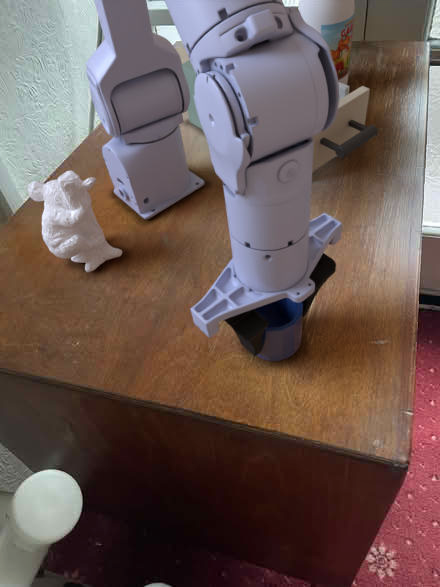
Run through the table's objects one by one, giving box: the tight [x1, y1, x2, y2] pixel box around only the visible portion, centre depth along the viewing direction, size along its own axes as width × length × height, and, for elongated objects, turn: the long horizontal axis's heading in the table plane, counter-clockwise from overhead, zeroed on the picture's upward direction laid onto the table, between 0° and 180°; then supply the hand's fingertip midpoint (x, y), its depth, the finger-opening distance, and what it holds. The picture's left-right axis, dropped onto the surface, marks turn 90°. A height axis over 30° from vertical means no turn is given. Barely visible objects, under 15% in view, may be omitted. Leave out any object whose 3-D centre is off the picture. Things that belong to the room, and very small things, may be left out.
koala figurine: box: [27, 170, 123, 273], centre depth 49 cm, size 8×7×12 cm
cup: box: [255, 298, 304, 362], centre depth 42 cm, size 5×5×5 cm
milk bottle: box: [297, 0, 356, 85], centre depth 64 cm, size 8×8×20 cm
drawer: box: [312, 82, 379, 173], centre depth 59 cm, size 16×11×7 cm
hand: (273, 329), depth 43 cm, fingers closed on cup, 5 cm apart
